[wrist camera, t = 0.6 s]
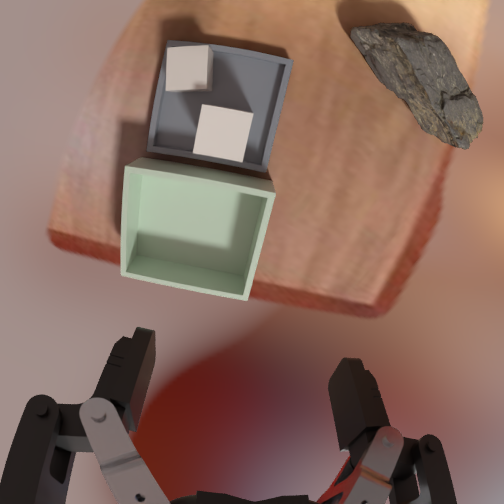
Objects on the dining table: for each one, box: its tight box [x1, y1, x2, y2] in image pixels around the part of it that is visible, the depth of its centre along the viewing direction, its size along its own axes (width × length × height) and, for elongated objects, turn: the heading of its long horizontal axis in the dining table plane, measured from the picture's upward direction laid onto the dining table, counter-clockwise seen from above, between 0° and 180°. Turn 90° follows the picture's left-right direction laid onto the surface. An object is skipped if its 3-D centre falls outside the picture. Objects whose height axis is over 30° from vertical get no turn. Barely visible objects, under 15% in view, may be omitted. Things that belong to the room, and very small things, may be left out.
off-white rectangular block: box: [193, 104, 253, 162], centre depth 24 cm, size 4×4×6 cm
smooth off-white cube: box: [166, 45, 214, 92], centre depth 22 cm, size 4×4×4 cm
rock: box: [350, 23, 483, 149], centre depth 22 cm, size 17×7×10 cm
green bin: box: [121, 157, 276, 301], centre depth 30 cm, size 12×14×4 cm
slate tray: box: [147, 40, 294, 173], centre depth 26 cm, size 12×12×2 cm
